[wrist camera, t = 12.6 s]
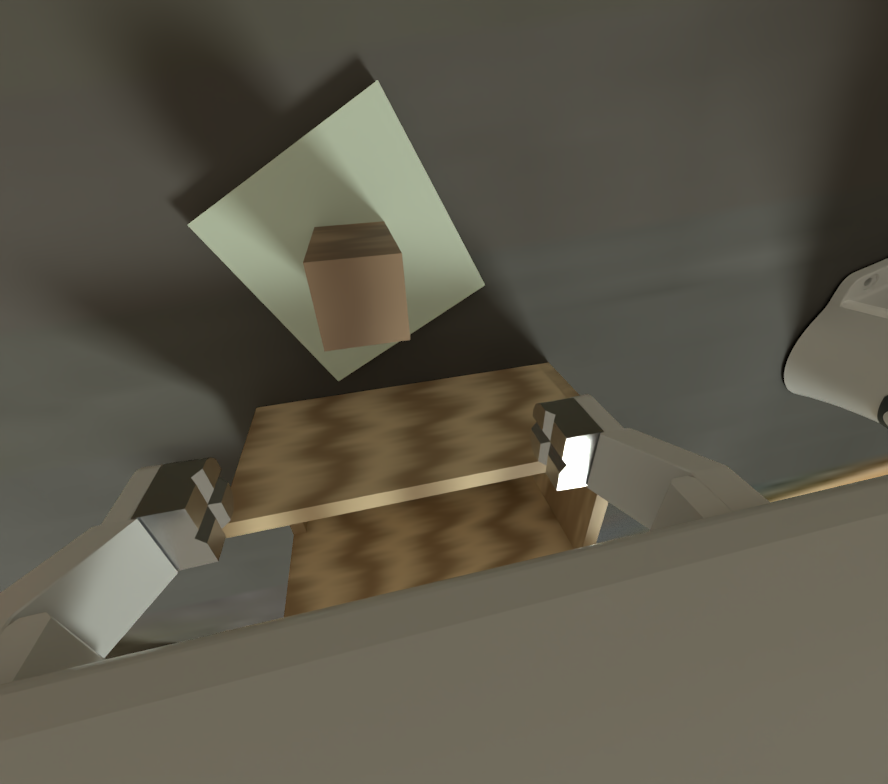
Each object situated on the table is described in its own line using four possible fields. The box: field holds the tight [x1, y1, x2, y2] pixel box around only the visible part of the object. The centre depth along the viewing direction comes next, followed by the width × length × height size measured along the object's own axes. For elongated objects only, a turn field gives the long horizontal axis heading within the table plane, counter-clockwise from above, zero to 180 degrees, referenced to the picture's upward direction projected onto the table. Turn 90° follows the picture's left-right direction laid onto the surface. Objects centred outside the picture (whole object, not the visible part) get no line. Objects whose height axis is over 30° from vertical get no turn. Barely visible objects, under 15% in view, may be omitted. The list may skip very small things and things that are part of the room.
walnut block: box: [303, 221, 410, 352], centre depth 22 cm, size 4×4×9 cm
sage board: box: [188, 80, 485, 381], centre depth 26 cm, size 14×14×1 cm
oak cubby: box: [222, 363, 608, 617], centre depth 33 cm, size 26×14×12 cm, turn 92°
